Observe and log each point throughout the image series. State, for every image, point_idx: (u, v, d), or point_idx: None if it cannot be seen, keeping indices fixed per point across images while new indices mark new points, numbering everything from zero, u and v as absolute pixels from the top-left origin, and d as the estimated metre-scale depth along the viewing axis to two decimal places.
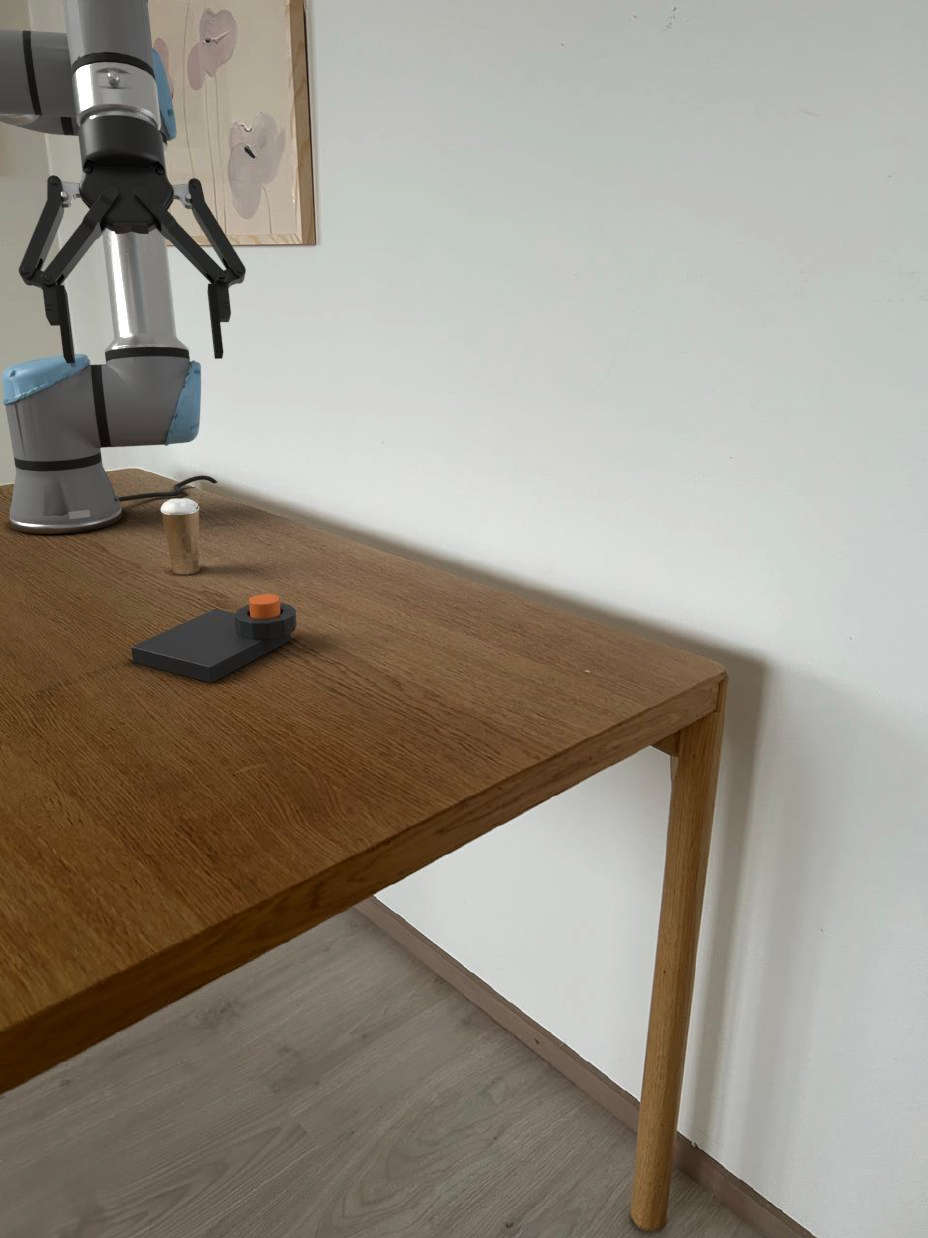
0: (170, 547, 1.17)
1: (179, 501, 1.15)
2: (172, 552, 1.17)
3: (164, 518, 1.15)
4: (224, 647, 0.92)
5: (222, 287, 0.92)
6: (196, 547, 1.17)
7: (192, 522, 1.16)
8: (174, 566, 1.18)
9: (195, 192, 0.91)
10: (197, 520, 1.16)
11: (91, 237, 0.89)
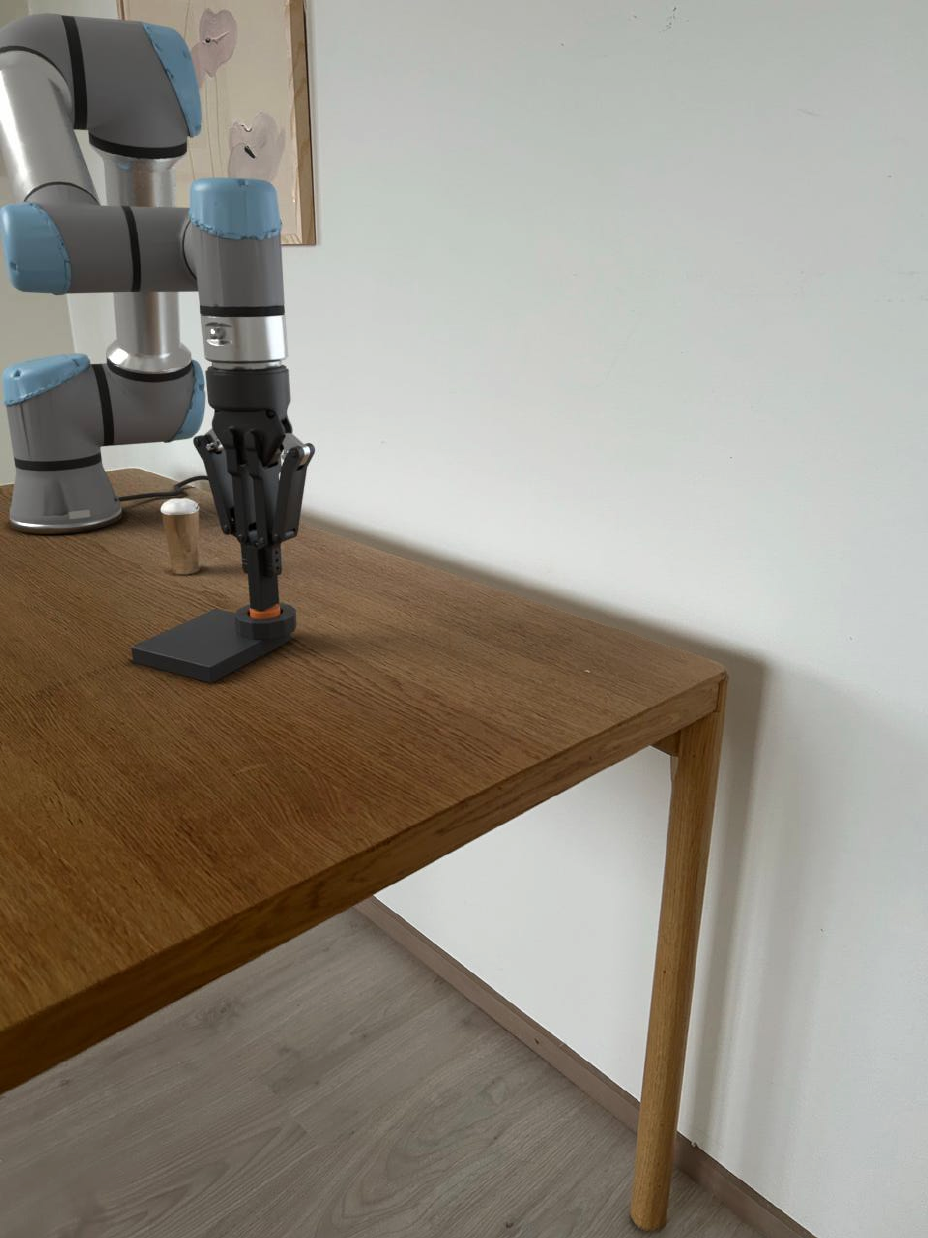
0: (170, 547, 1.17)
1: (179, 501, 1.15)
2: (172, 552, 1.17)
3: (164, 518, 1.15)
4: (224, 647, 0.92)
5: None
6: (196, 547, 1.17)
7: (192, 522, 1.16)
8: (174, 566, 1.18)
9: (289, 459, 0.87)
10: (197, 520, 1.16)
11: (247, 479, 0.91)
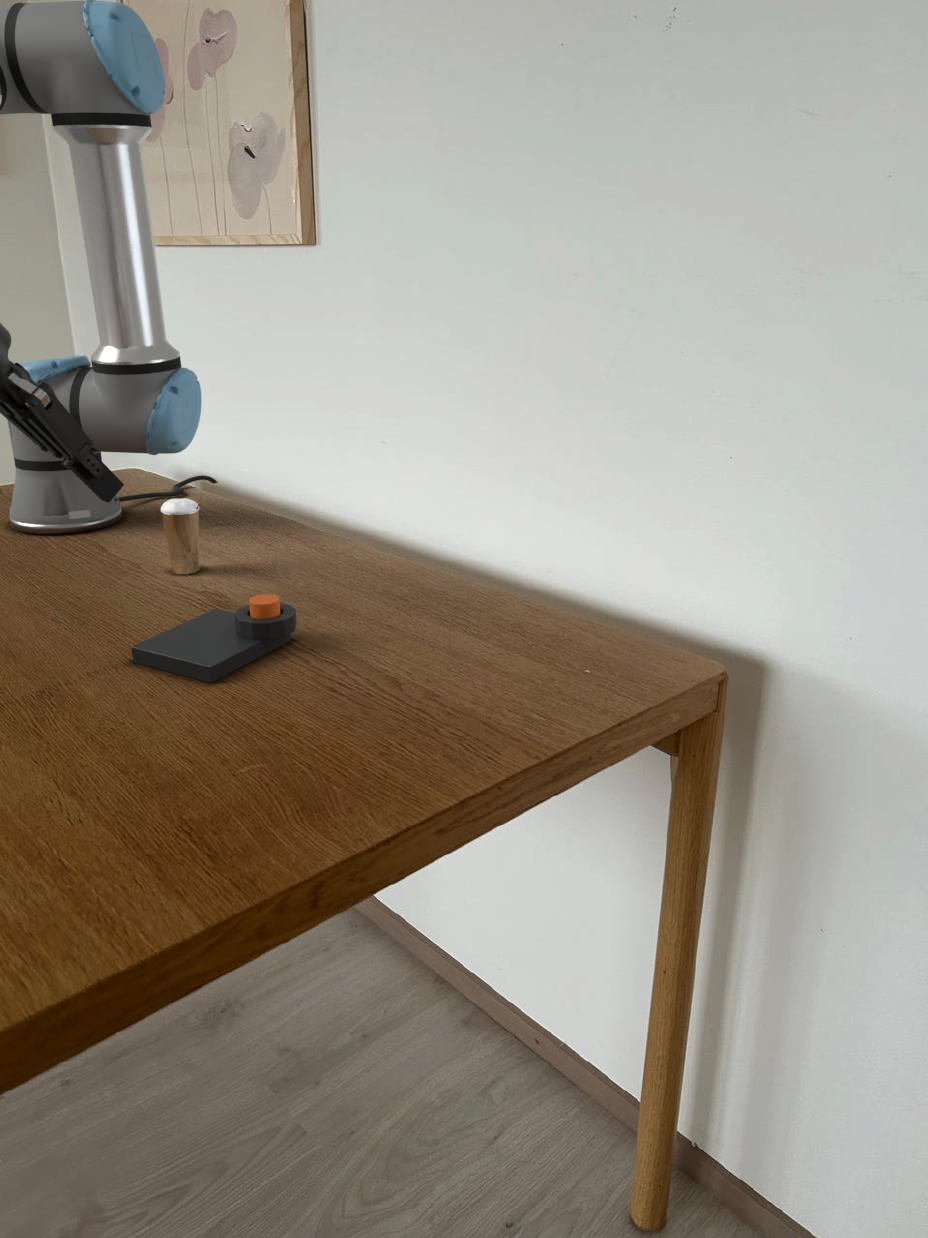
0: (170, 547, 1.17)
1: (179, 501, 1.15)
2: (172, 552, 1.17)
3: (164, 518, 1.15)
4: (224, 647, 0.92)
5: None
6: (196, 547, 1.17)
7: (192, 522, 1.16)
8: (174, 566, 1.18)
9: (32, 407, 0.92)
10: (197, 520, 1.16)
11: None
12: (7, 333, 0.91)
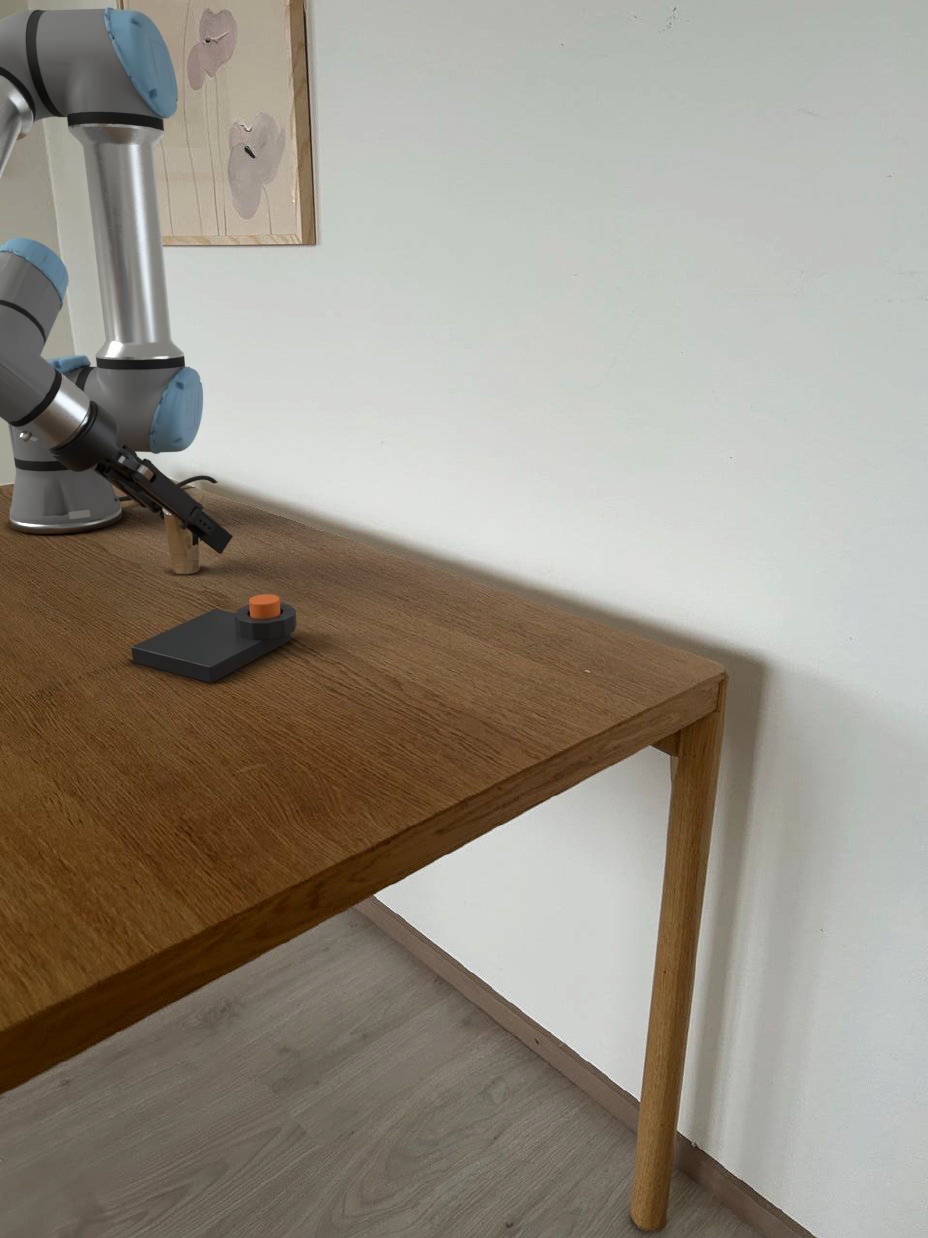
0: (171, 547, 1.17)
1: None
2: (172, 552, 1.17)
3: (166, 518, 1.15)
4: (224, 647, 0.92)
5: None
6: (197, 547, 1.17)
7: None
8: (174, 566, 1.18)
9: (139, 482, 1.05)
10: None
11: None
12: (114, 422, 1.05)
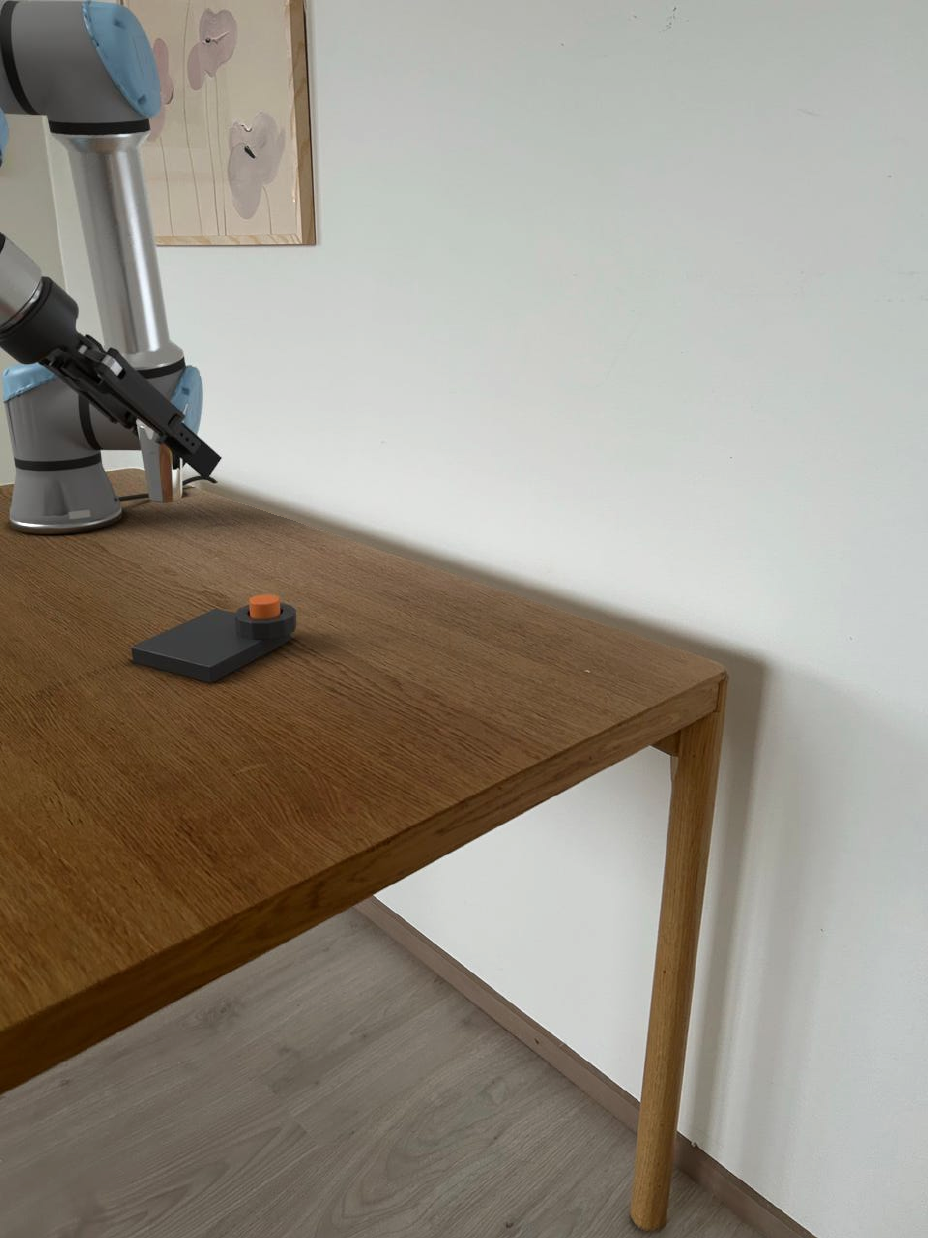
0: (146, 468, 0.97)
1: None
2: (148, 475, 0.97)
3: (140, 432, 0.95)
4: (224, 647, 0.92)
5: None
6: (178, 470, 0.97)
7: None
8: (151, 492, 0.98)
9: (103, 377, 0.85)
10: None
11: None
12: (73, 303, 0.85)
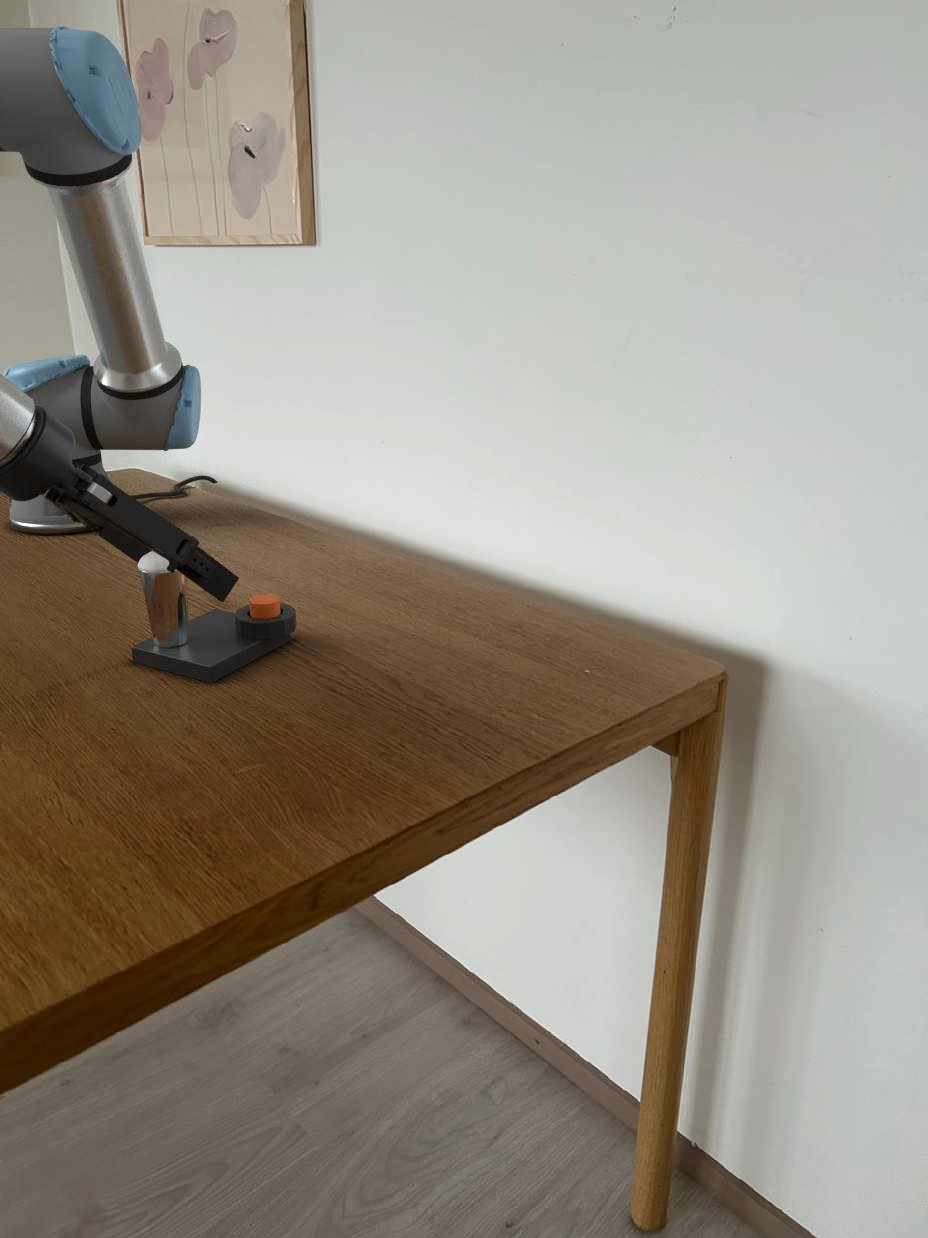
0: (150, 613, 0.91)
1: None
2: (152, 620, 0.91)
3: (142, 577, 0.89)
4: (224, 647, 0.92)
5: None
6: (184, 613, 0.92)
7: (178, 582, 0.90)
8: (155, 637, 0.92)
9: (92, 507, 0.77)
10: (185, 579, 0.91)
11: None
12: (69, 435, 0.78)
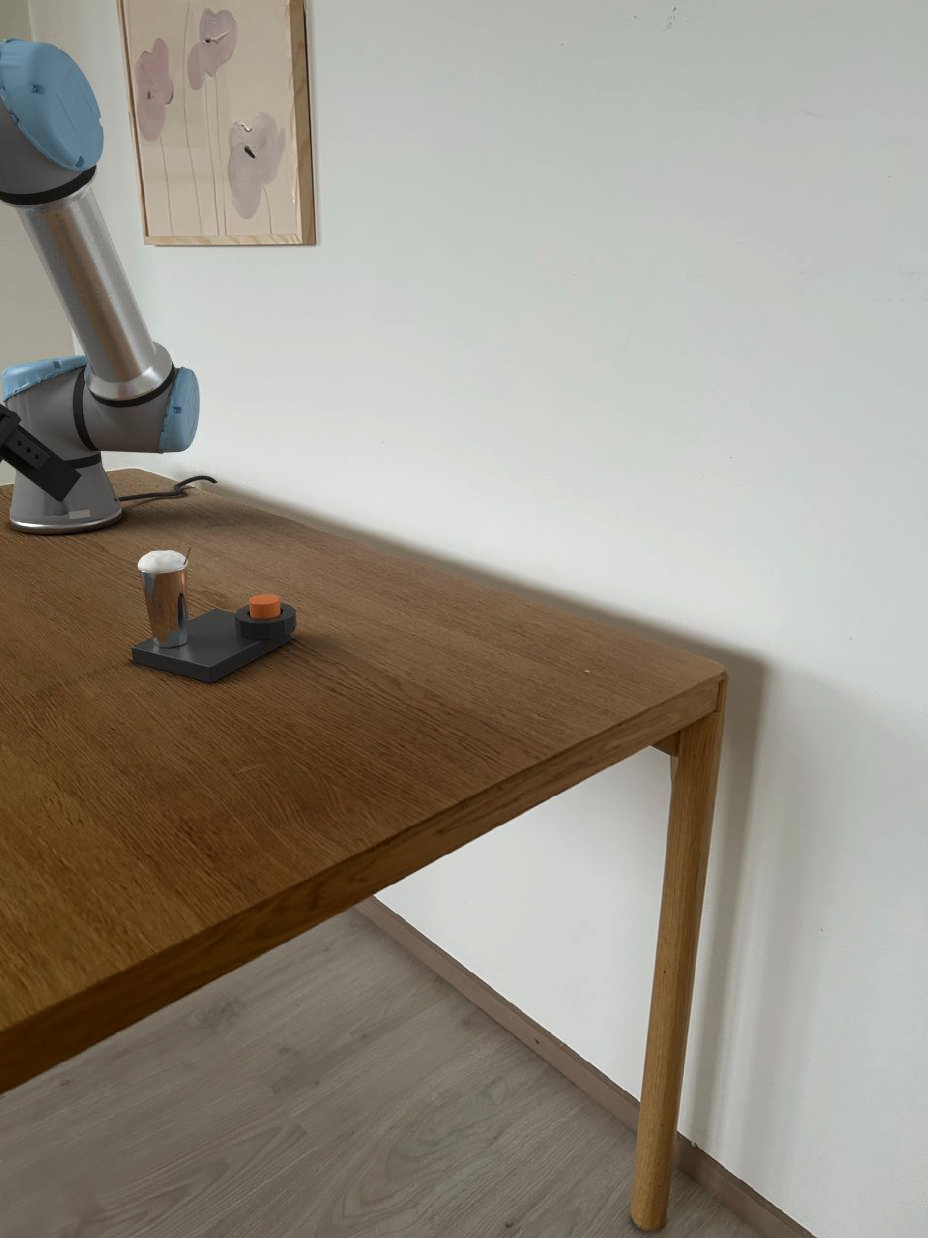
0: (150, 613, 0.91)
1: (161, 555, 0.90)
2: (152, 620, 0.91)
3: (142, 577, 0.89)
4: (224, 647, 0.92)
5: (4, 445, 0.70)
6: (184, 613, 0.92)
7: (178, 582, 0.90)
8: (155, 637, 0.92)
9: None
10: (185, 579, 0.91)
11: None
12: None
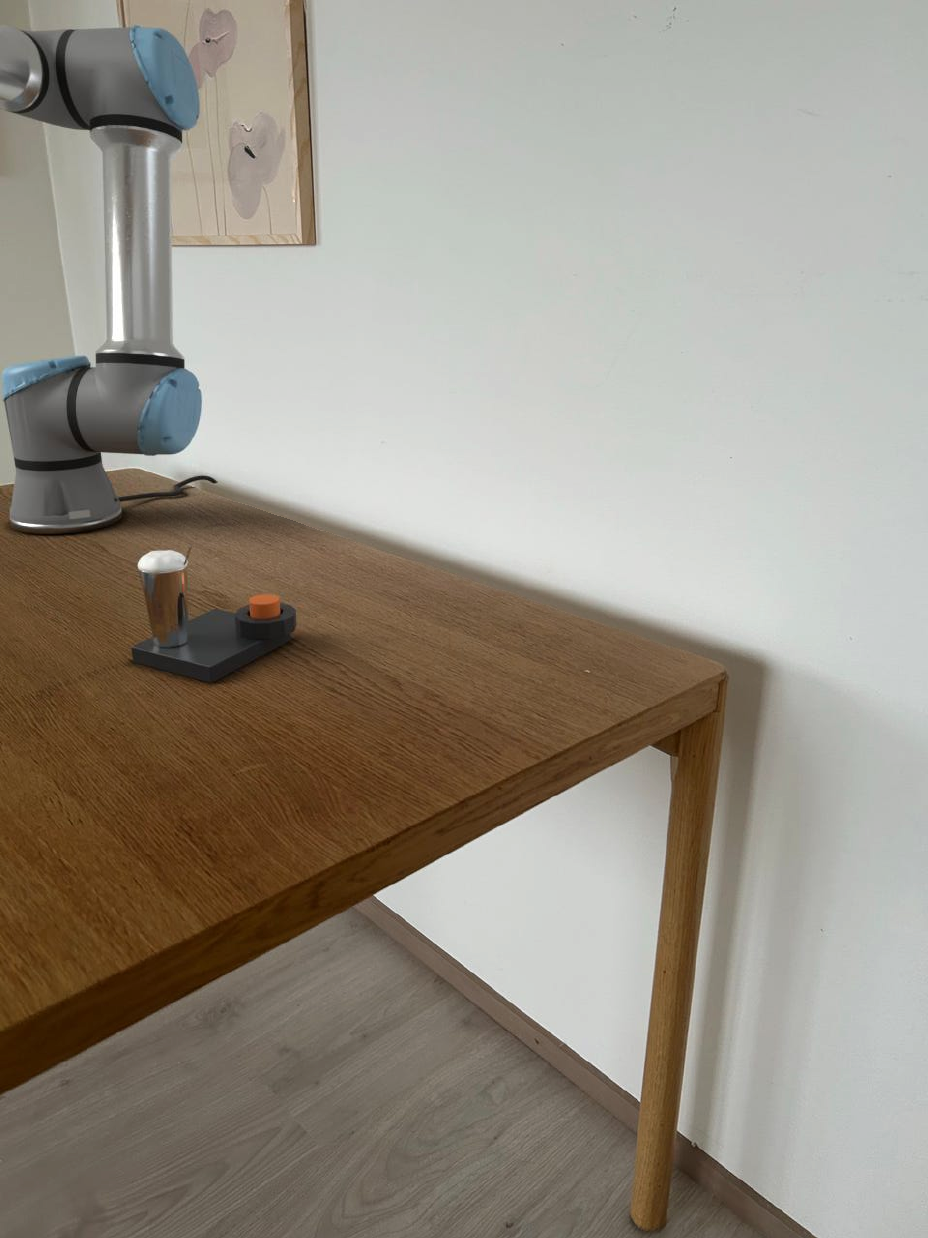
0: (150, 613, 0.91)
1: (161, 555, 0.90)
2: (152, 620, 0.91)
3: (142, 577, 0.89)
4: (224, 647, 0.92)
5: None
6: (184, 613, 0.92)
7: (178, 582, 0.90)
8: (155, 637, 0.92)
9: None
10: (185, 579, 0.91)
11: None
12: None
